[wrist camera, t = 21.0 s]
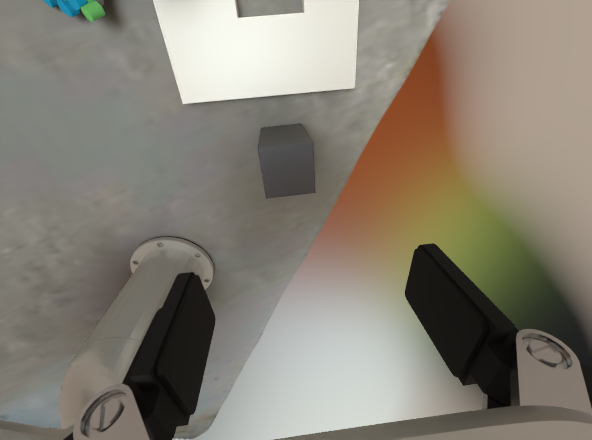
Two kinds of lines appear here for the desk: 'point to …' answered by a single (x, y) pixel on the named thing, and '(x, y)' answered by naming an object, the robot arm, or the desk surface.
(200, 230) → the desk surface
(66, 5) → the blue spiky figurine
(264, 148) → the plug
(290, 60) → the socket block
